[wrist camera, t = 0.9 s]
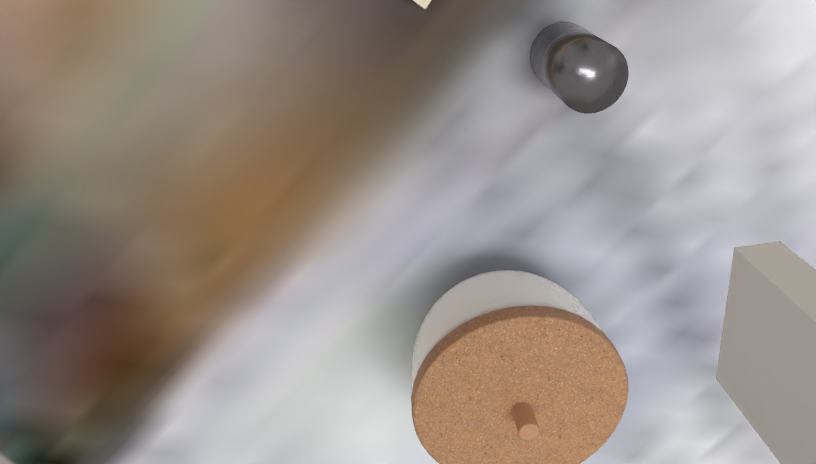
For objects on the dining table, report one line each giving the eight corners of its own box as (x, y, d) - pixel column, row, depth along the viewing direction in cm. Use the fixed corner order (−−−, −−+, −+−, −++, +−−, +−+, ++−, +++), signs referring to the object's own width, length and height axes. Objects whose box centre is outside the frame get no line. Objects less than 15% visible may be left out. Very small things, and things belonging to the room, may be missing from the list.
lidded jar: (462, 207, 35) (495, 302, 27) (617, 284, 38) (689, 390, 30) (370, 351, 39) (374, 472, 31) (516, 410, 42) (556, 536, 34)
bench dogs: (517, 61, 32) (543, 87, 27) (646, -107, 29) (698, -109, 24) (562, 95, 33) (594, 126, 28) (692, -64, 30) (750, -58, 25)
